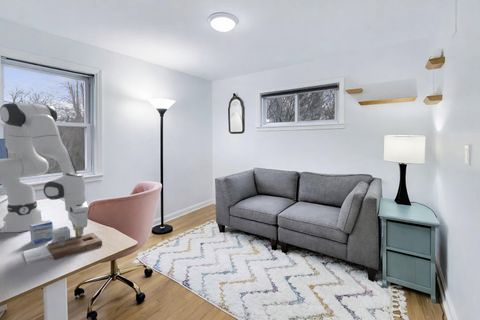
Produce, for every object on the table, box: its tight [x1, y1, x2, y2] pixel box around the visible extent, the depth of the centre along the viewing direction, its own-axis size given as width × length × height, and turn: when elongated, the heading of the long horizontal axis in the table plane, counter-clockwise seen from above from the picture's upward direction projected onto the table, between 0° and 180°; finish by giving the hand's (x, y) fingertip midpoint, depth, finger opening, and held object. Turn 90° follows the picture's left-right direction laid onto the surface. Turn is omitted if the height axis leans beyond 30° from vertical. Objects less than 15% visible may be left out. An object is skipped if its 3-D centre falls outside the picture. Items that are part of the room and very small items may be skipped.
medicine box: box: [29, 220, 54, 245], centre depth 117 cm, size 8×4×9 cm, turn 143°
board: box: [47, 232, 103, 260], centre depth 110 cm, size 13×18×6 cm
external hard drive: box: [22, 245, 53, 265], centre depth 103 cm, size 2×8×12 cm
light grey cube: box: [51, 226, 71, 243], centre depth 116 cm, size 6×6×6 cm
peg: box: [74, 226, 82, 237], centre depth 121 cm, size 2×2×6 cm
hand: (78, 232), depth 121 cm, fingers open, 8 cm apart
